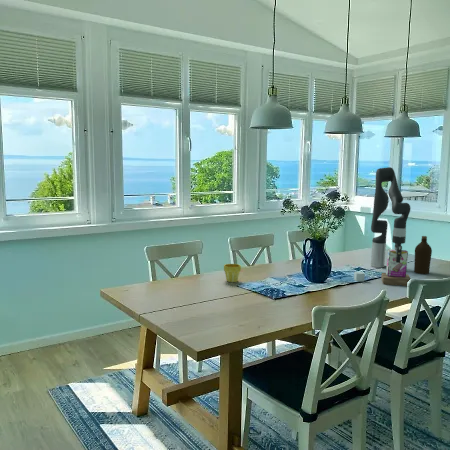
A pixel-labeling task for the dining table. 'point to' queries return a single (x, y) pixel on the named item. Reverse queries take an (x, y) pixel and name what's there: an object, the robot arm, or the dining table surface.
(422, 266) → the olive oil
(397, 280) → the walnut plinth
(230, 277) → the plant pot
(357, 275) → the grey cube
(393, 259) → the candy bar box
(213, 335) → the dining table surface
